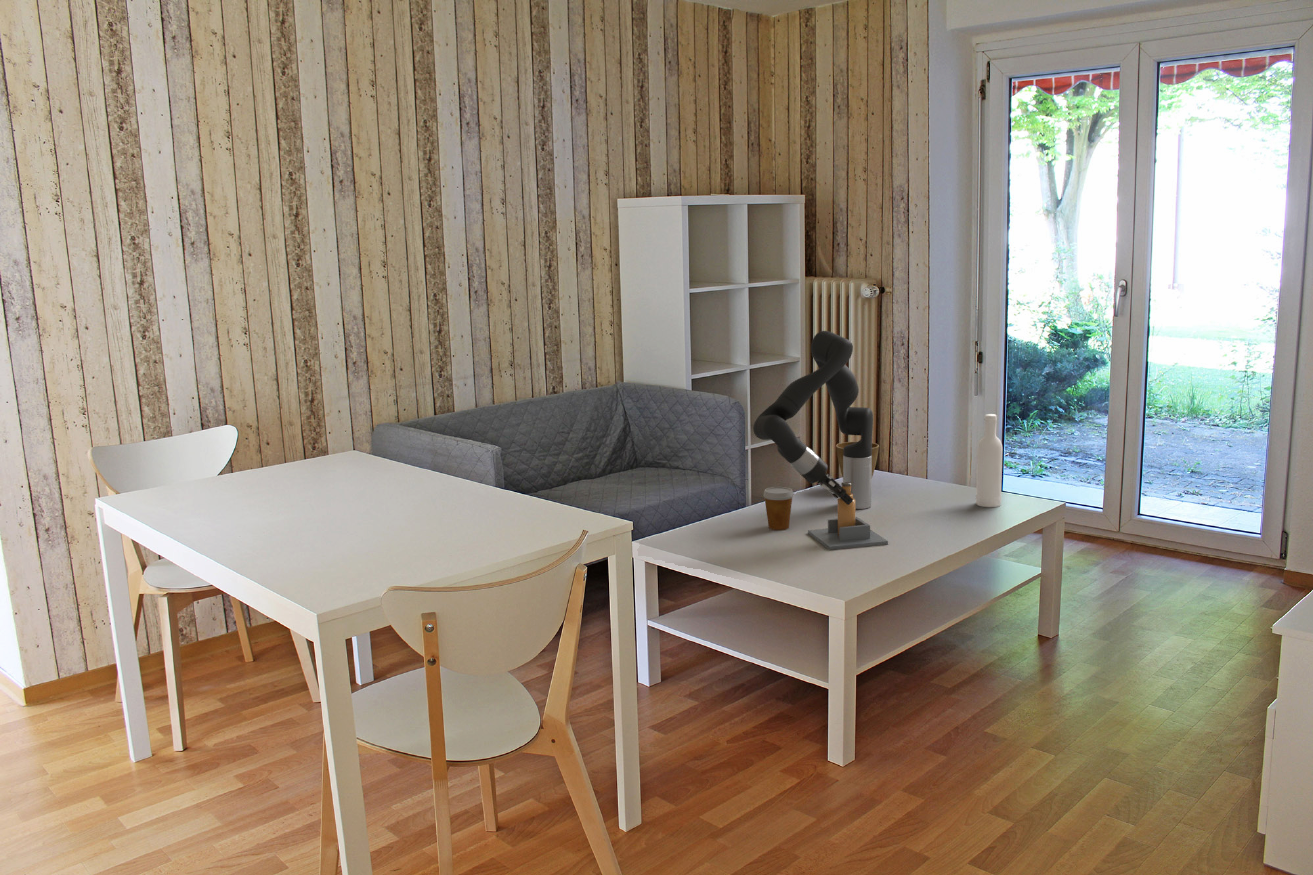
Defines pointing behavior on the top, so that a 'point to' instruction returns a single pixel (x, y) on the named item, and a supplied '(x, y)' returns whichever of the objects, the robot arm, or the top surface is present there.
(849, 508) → the bottle
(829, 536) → the u rest
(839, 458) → the plant pot
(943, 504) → the top surface
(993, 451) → the bottle
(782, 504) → the disposable coffee cup
